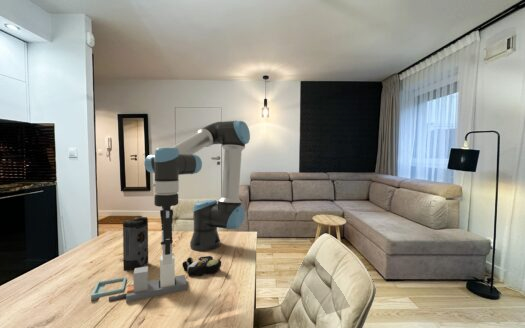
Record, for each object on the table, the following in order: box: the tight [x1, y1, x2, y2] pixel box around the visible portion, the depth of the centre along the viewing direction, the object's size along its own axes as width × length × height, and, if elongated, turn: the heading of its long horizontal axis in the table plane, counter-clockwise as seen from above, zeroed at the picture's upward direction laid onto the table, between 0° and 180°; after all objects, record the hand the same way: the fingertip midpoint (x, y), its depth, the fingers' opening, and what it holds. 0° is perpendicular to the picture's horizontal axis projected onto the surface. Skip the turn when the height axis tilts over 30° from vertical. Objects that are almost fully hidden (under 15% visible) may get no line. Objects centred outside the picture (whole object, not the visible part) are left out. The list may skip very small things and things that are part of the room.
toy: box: [182, 255, 222, 277], centre depth 96 cm, size 12×8×15 cm
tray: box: [90, 276, 127, 302], centre depth 82 cm, size 9×9×2 cm
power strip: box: [108, 265, 188, 304], centre depth 80 cm, size 23×7×9 cm, turn 114°
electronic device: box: [122, 216, 149, 272], centre depth 100 cm, size 9×6×20 cm, turn 168°
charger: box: [159, 252, 176, 288], centre depth 82 cm, size 4×4×11 cm
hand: (166, 255), depth 81 cm, fingers open, 13 cm apart
